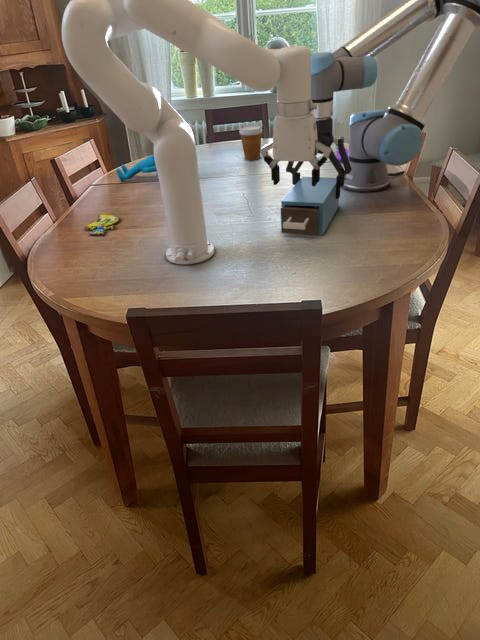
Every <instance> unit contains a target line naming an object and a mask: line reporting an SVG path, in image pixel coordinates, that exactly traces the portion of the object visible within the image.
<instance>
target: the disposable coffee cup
mask: <svg viewBox="0 0 480 640" xmlns="http://www.w3.org/2000/svg"><path fill="white" fill-rule="evenodd" d="M262 133H263V129H262V126H261V125H259V124H250V125H249V124H248V125H243V126H241V127H240V128H239V131H238V134H239V135H240V140H241V144H242V150H243V155H244V159H245V160H248V161H252V160H258V159H260V158H261V153H260V149H261V148H262V146H261V145H262Z"/></svg>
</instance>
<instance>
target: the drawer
mask: <svg viewBox="0 0 480 640" xmlns="http://www.w3.org/2000/svg"><path fill="white" fill-rule="evenodd" d="M280 226H281V227H280V229H281V230H280V231H281V233H282V234H296V235H309V236H320V235H319V207H315V206H297V205H288V206H287V207H282V206H281V208H280Z"/></svg>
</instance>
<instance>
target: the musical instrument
mask: <svg viewBox="0 0 480 640" xmlns="http://www.w3.org/2000/svg"><path fill="white" fill-rule="evenodd" d="M336 147H337V148H336V149H337V151H333V152H334V154H336V153H337V159H338V160H339V162H342V160H341V156H340V153H339V150H338V146H336ZM345 150H346V153H347V156H348V154H349V149H347V148H345ZM322 157H323V155H322V156H320V157H319V156H318V157H317V158H318V159H319V160H320V159H321V158H322ZM327 163H331V161H330V160H329V161H326V162H325V163H324V164H327Z"/></svg>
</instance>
